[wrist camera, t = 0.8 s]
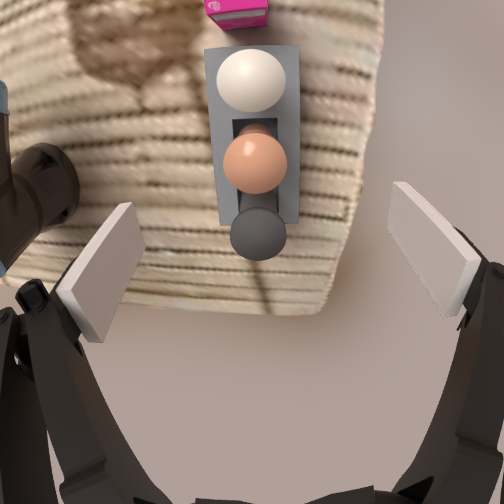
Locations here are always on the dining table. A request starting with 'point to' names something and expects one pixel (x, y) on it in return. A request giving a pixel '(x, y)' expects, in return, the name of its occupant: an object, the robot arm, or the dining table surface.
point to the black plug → (258, 227)
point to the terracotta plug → (255, 160)
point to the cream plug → (251, 80)
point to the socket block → (275, 118)
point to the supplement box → (237, 13)
